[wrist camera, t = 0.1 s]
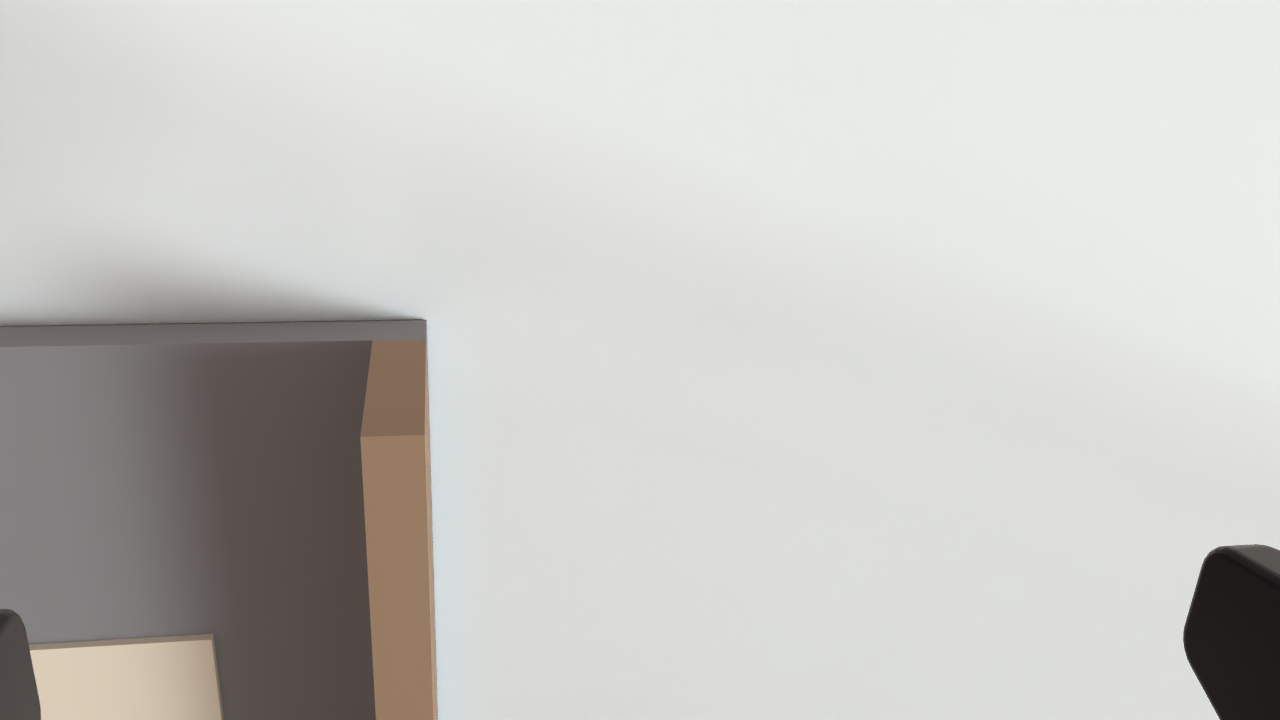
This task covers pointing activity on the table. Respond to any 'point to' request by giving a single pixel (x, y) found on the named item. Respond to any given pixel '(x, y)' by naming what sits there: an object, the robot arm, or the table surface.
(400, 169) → the table surface
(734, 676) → the table surface
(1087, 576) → the table surface
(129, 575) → the arena
